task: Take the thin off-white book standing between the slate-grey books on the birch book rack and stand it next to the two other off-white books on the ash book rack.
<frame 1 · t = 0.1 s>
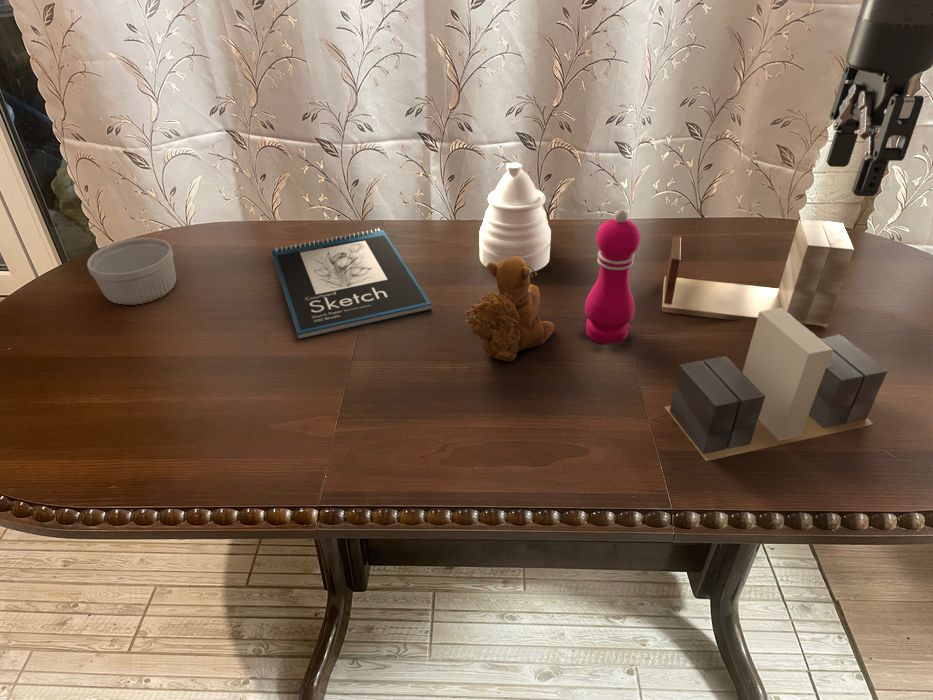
hand: (849, 179, 71), 29 cm above the table, tool pointing down, fingers open, 8 cm apart
white book: (766, 415, 82), point 1 cm above the table, touching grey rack
honey pot: (514, 257, 120), on the table
white rack: (739, 304, 105), on the table
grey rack: (764, 421, 83), on the table
stuffed squirrel: (508, 345, 98), on the table
ramekin: (143, 291, 113), on the table
sketchbook: (346, 281, 114), on the table
pepper mill: (606, 334, 100), on the table
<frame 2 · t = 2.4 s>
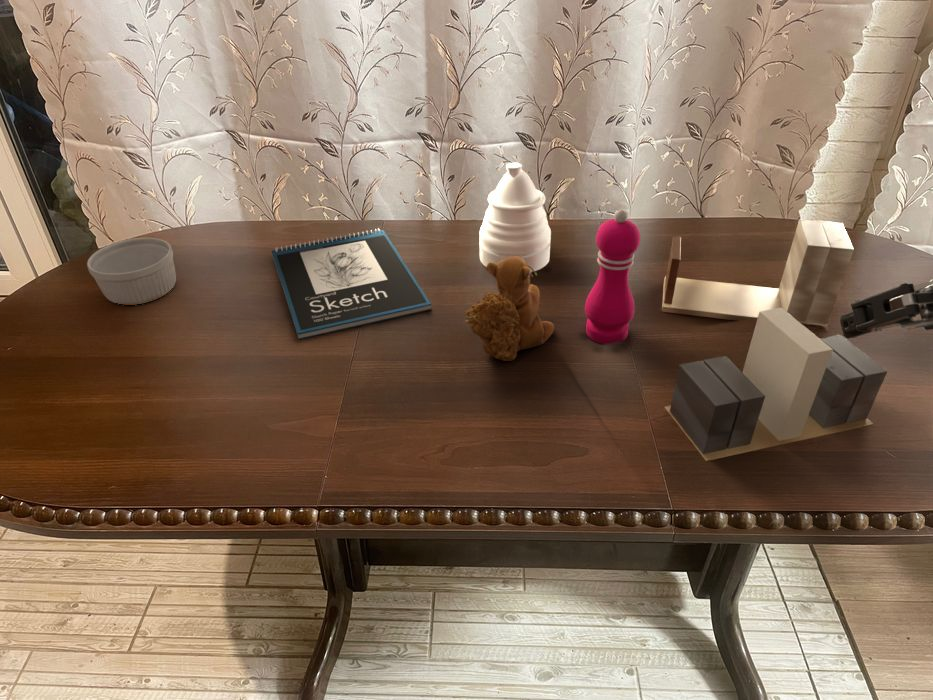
hand: (885, 323, 62), 21 cm above the table, tool tilted 45°, fingers open, 8 cm apart
nothing on the table moved.
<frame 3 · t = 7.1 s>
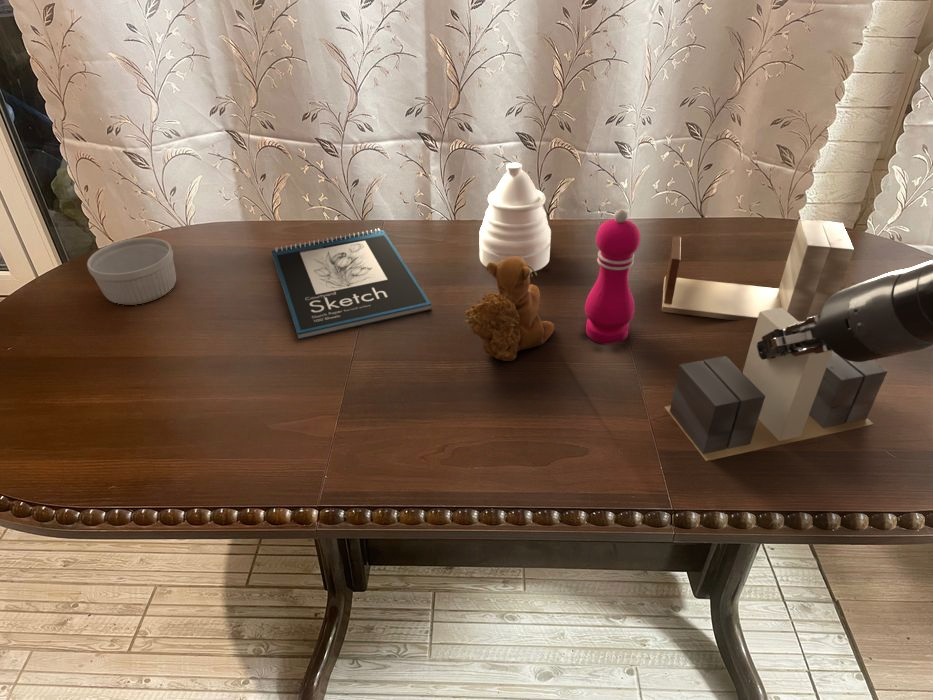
hand: (774, 348, 78), 10 cm above the table, tool tilted 45°, fingers closed on white book, 3 cm apart
white book: (767, 415, 82), point 1 cm above the table, touching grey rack, gripper
everything else where it was.
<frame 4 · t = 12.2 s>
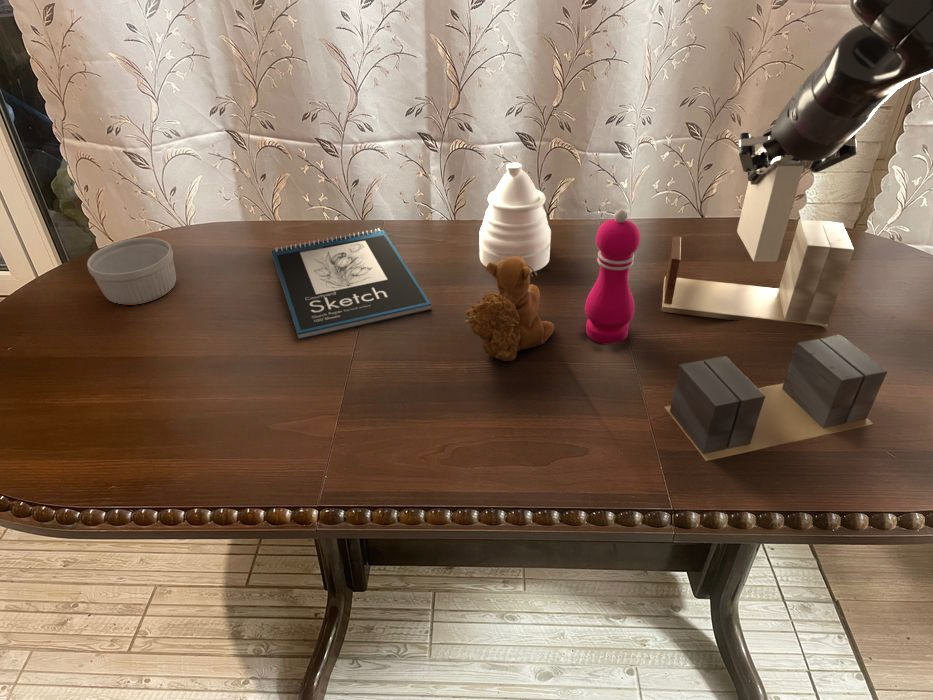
hand: (767, 177, 86), 24 cm above the table, tool tilted 45°, fingers closed on white book, 3 cm apart
white book: (756, 246, 89), point 15 cm above the table, touching gripper
everything else where it was.
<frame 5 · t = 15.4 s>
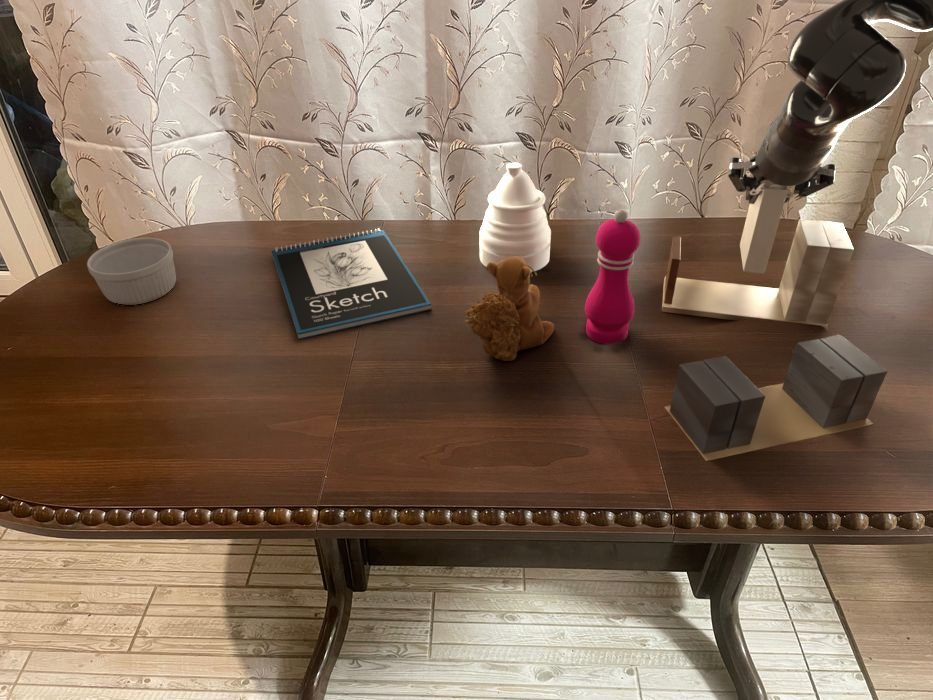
hand: (764, 198, 96), 17 cm above the table, tool tilted 45°, fingers closed on white book, 3 cm apart
white book: (751, 259, 100), point 8 cm above the table, touching gripper
everything else where it was.
when the fingers open (10 cm above the table, at t = 17.7 s): white book stays where it is, resting on white rack.
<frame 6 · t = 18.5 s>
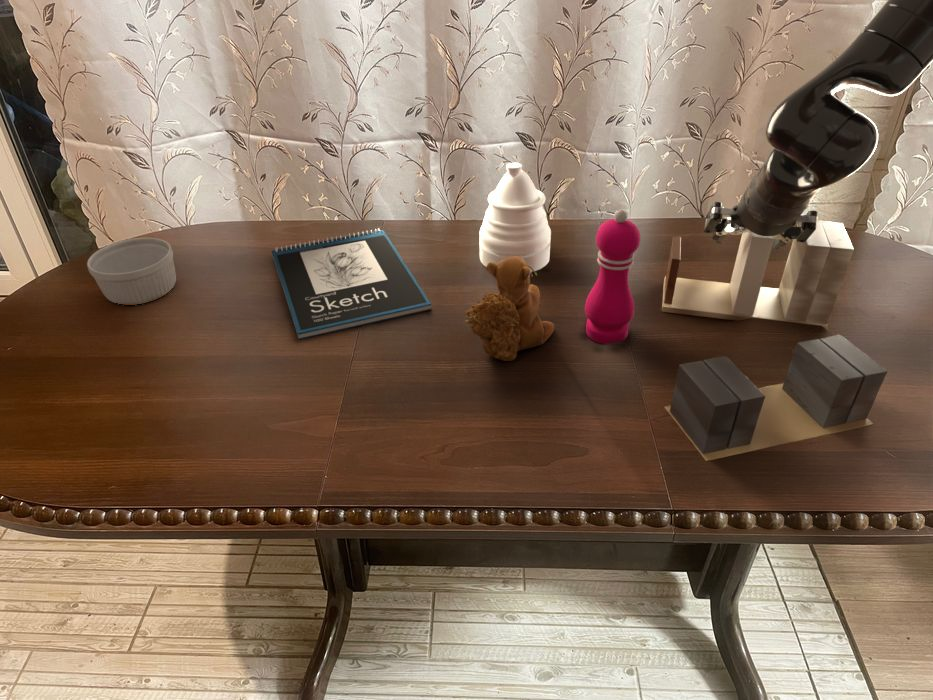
hand: (746, 239, 100), 11 cm above the table, tool tilted 45°, fingers open, 8 cm apart
white book: (740, 299, 104), point 1 cm above the table, touching white rack
everything else where it was.
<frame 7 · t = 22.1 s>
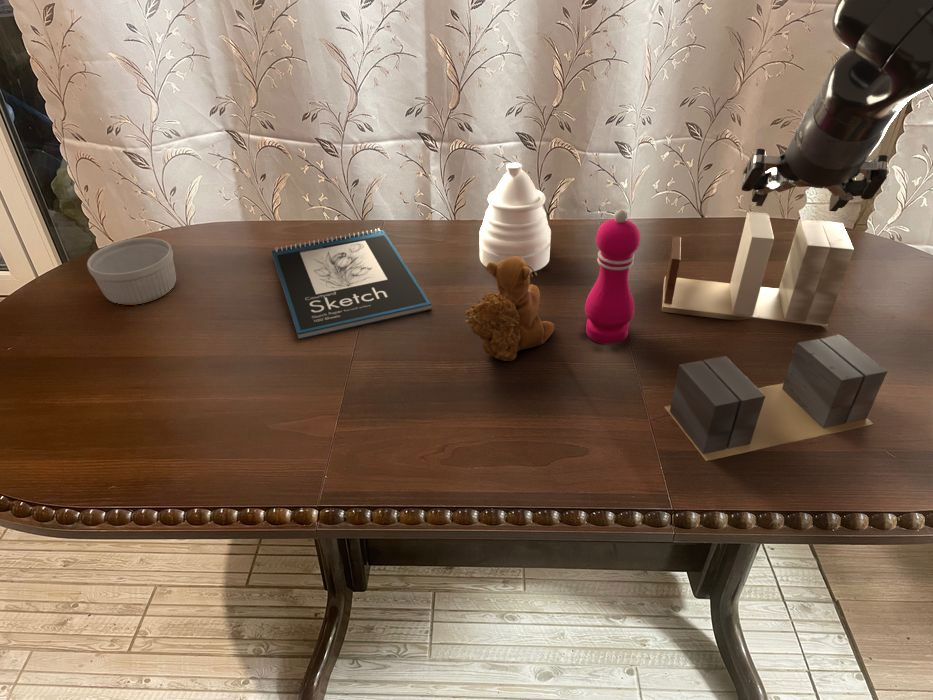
hand: (795, 201, 82), 23 cm above the table, tool tilted 45°, fingers open, 8 cm apart
nothing on the table moved.
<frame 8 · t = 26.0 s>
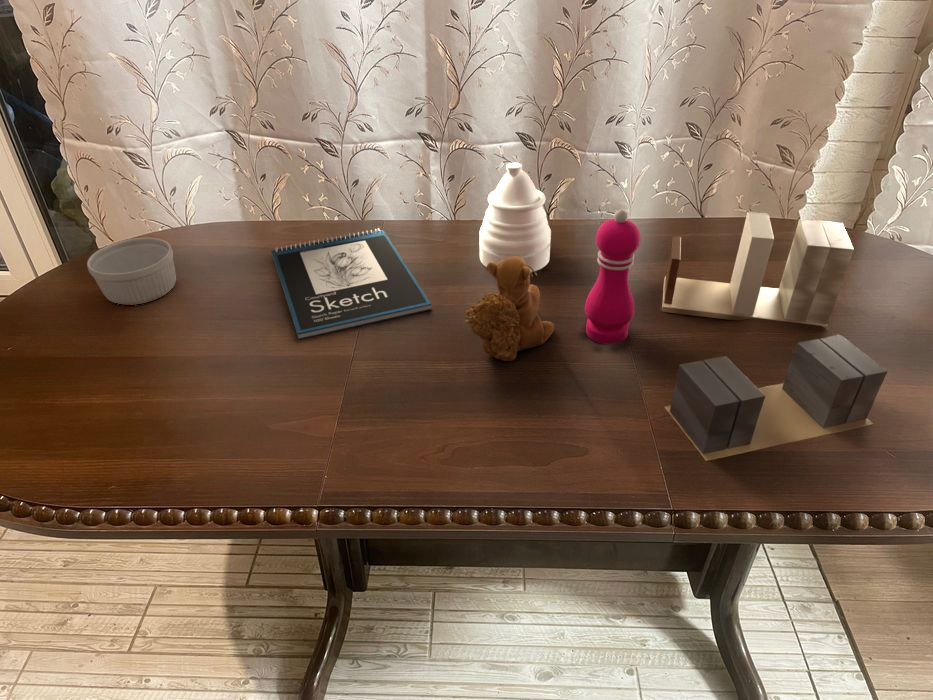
nothing on the table moved.
at the end: white book 0.1 cm off-centre on the white rack, point 1.0 cm above the white rack's base; white book tilted 0°; the gripper is holding nothing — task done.
